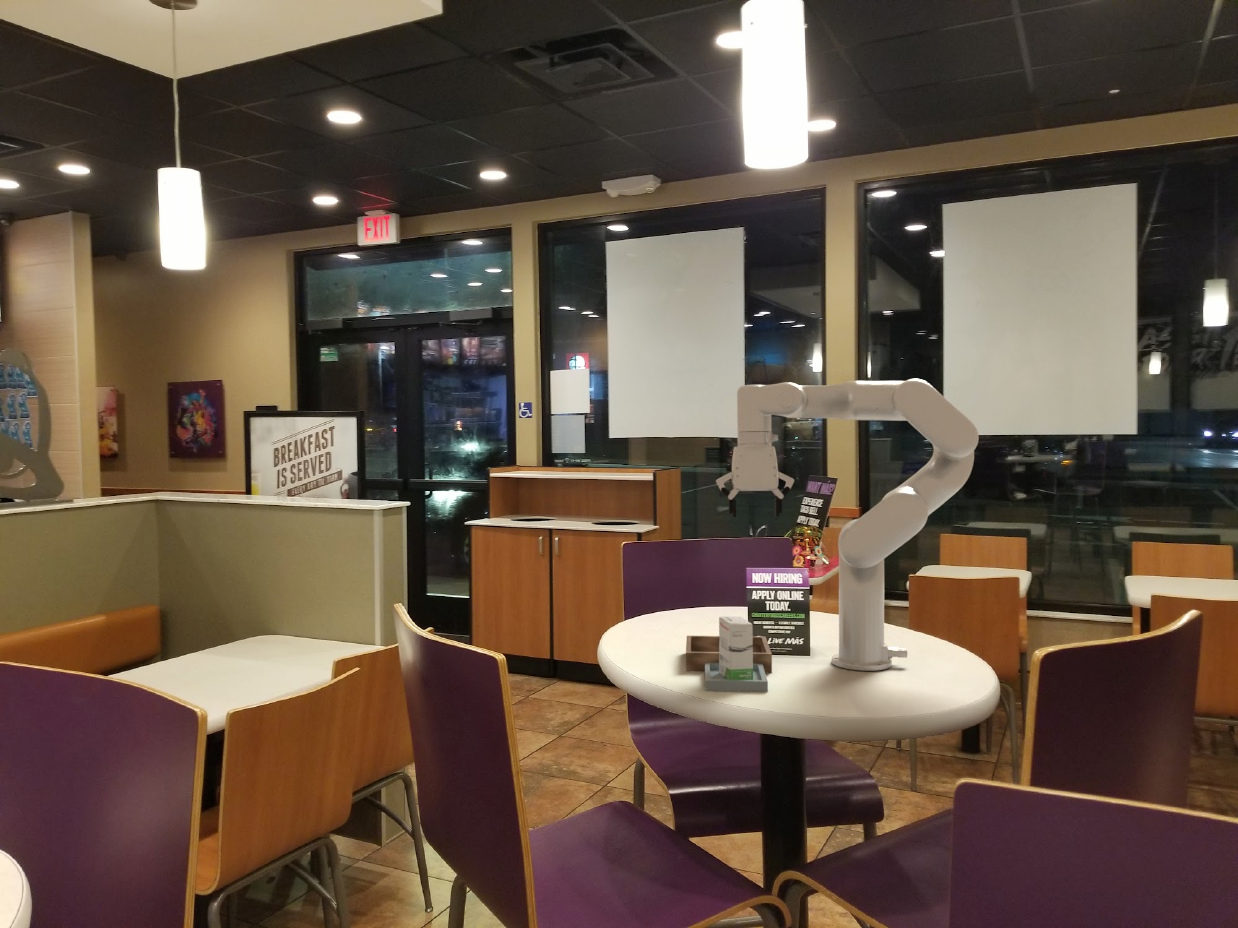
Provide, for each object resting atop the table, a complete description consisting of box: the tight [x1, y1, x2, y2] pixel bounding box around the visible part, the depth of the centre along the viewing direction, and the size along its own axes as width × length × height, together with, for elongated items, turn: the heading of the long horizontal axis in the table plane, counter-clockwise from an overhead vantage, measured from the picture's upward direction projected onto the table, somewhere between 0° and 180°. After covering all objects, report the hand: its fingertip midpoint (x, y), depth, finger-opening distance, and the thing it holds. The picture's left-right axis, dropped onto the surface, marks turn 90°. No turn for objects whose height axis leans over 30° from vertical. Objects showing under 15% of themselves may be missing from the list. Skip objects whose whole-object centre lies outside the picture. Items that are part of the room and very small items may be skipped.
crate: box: [685, 635, 773, 674], centre depth 193 cm, size 18×17×4 cm
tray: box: [704, 663, 769, 693], centre depth 177 cm, size 12×14×2 cm
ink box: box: [718, 616, 754, 680], centre depth 177 cm, size 9×5×12 cm, turn 9°
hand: (755, 516), depth 196 cm, fingers open, 9 cm apart
